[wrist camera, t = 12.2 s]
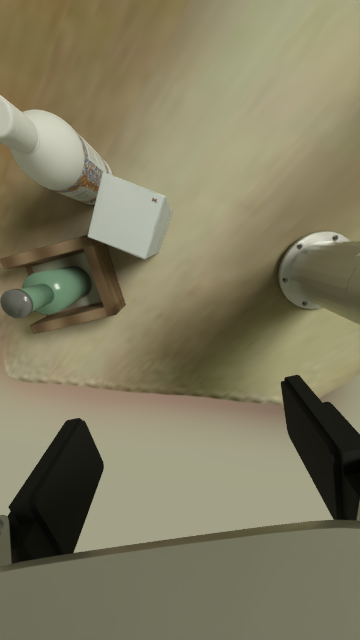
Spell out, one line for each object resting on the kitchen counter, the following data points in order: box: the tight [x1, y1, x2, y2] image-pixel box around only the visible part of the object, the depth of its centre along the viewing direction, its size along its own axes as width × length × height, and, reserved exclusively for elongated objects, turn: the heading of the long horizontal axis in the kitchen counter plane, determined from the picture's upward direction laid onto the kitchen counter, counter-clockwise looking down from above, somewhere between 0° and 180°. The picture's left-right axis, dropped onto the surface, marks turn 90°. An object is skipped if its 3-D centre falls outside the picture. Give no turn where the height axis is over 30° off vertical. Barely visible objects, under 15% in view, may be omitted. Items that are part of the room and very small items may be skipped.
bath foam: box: [0, 96, 112, 205], centre depth 27 cm, size 7×7×20 cm
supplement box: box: [88, 172, 172, 260], centre depth 33 cm, size 7×7×13 cm
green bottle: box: [1, 266, 92, 318], centre depth 33 cm, size 6×6×15 cm
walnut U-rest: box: [0, 235, 126, 334], centre depth 39 cm, size 14×12×6 cm
